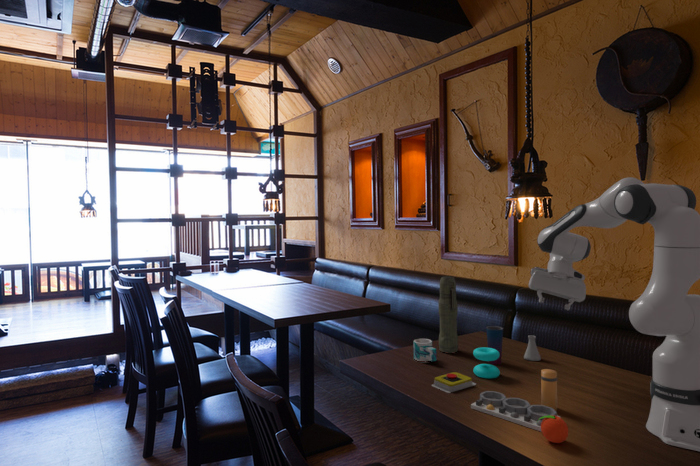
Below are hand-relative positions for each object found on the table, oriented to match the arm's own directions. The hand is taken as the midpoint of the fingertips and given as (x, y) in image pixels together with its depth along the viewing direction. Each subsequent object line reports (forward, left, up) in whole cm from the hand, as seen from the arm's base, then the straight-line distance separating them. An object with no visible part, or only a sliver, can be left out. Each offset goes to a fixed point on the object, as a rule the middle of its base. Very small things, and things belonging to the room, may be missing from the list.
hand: (554, 305), depth 165 cm
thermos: (+50, -4, -28) cm, 58 cm away
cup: (+26, -3, -28) cm, 39 cm away
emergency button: (+24, +31, -29) cm, 49 cm away
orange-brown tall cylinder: (-9, +27, -28) cm, 40 cm away
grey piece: (-3, +39, -28) cm, 48 cm away
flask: (+17, -19, -28) cm, 38 cm away
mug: (+49, +15, -28) cm, 59 cm away
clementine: (-18, +48, -28) cm, 59 cm away
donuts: (+21, +13, -28) cm, 38 cm away
